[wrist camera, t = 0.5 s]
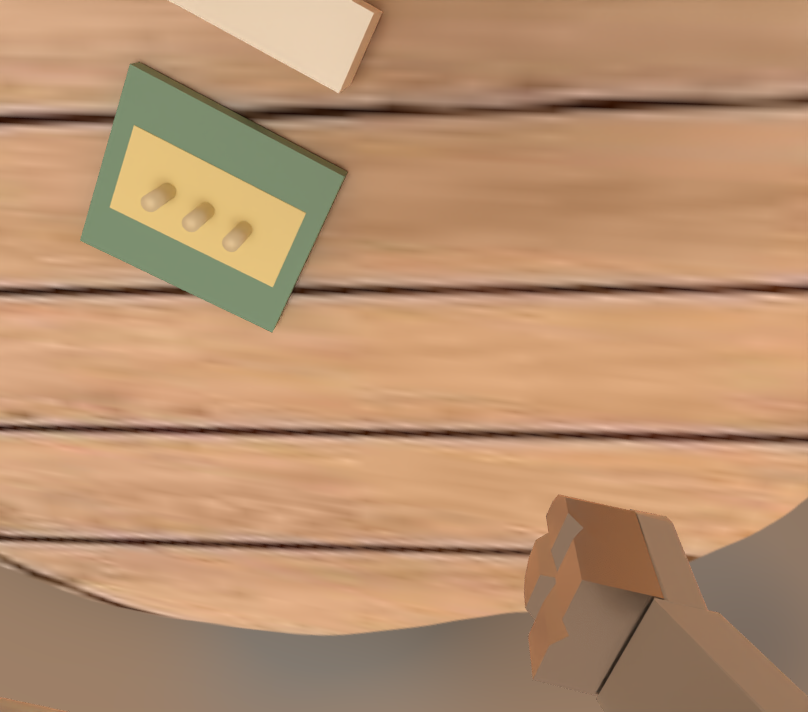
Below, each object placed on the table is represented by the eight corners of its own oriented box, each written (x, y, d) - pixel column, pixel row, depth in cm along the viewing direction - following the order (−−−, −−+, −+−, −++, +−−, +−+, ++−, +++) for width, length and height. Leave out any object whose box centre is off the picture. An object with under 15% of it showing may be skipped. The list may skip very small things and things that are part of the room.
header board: (139, 62, 47) (105, 68, 43) (347, 171, 49) (336, 188, 45) (89, 234, 53) (55, 255, 49) (276, 324, 56) (260, 352, 51)
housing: (220, -82, 43) (192, -91, 38) (382, 11, 44) (373, 13, 40) (195, -1, 45) (166, -1, 40) (350, 84, 47) (338, 93, 42)
